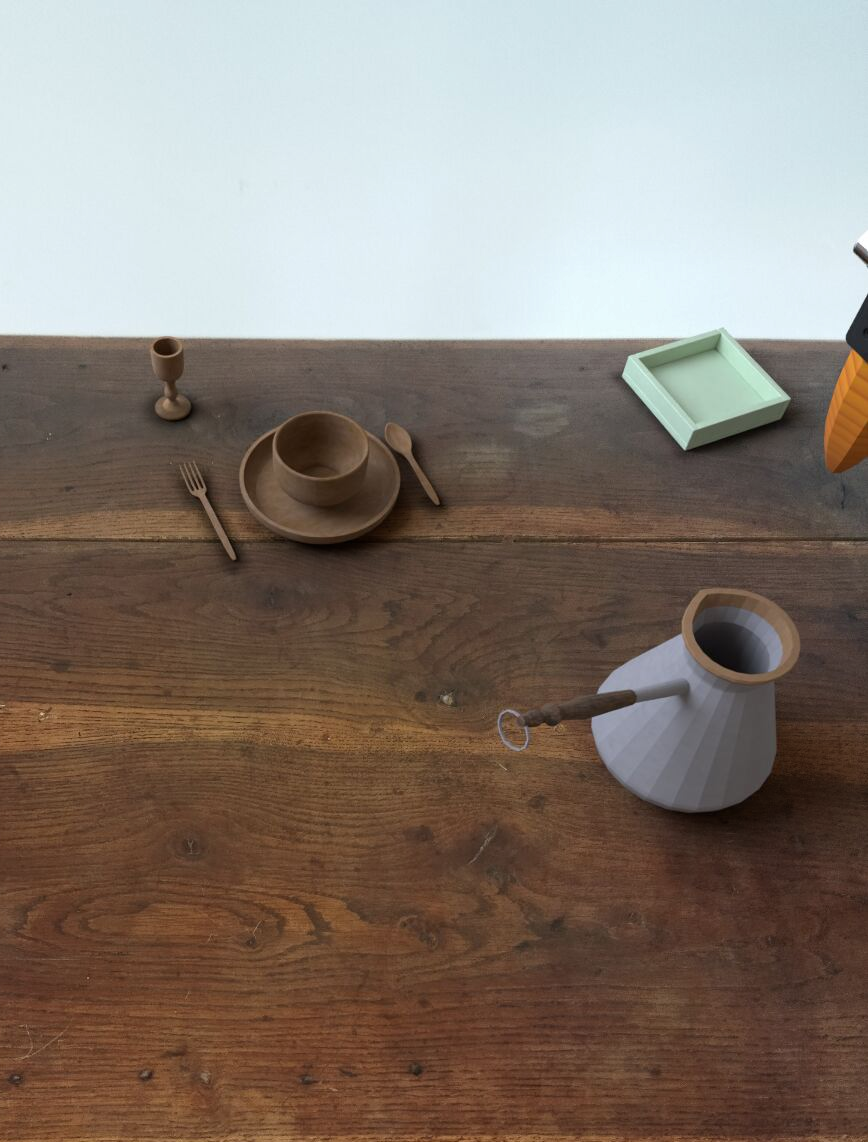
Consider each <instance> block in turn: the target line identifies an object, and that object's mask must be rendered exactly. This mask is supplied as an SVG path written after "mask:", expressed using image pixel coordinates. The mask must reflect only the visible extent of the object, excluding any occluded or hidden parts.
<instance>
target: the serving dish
mask: <svg viewBox="0 0 868 1142" xmlns="http://www.w3.org/2000/svg"><path fill="white" fill-rule="evenodd" d="M621 378H622V379H623V380H624V381H625V382H626V383H627V385H628V386H629V388H631V390H632V391H634V393H635V394H636V395H637V396H638V398H639V399H640V400H641V401H642V403H644V404H645V405H646V407H647V408H648V410H650V412H651V413H652V414H653V415H654V417H656V419H657V420H658V421H659V423H660V424H661V425H662V426H663V427H664V428H665V429H666V430H667V432H668V433H669V434H670V435H671V437H672V438H673V439H674V440H675V442H677V443H678V445H679V446H680V447H681V448H682V449H683V450H684V451H685V452H686V451H689V450H692V449H695V448H698V447H701V446H704V445H707V444H710V443H713V442H716V441H719V440H722V439H725V438H728V437H731V436H734V435H737V434H741V433H743V432H746V431H748V430H749V431H750V430H752V429H755V428H759V427H761V426H764V425H767V424H770V423H774V422H776V421H779V420H781V419H782V417H783V416H784V413H785V412H786V410H787V408H788V406H789V404H790V402H791V400H792V398H791V397H790V396H789V394H787V392H786V391H784V389H782V387H781V386H780V385H779V384H778V383H777V382H776V381H775V380H774V379H773V377H771V376H770V375H769V374H768V373H767V371H765V369H764V368H762V366H761V365H760V363H758V362H757V361H756V360H755V359H754V358H753V357H752V356H751V355H750V354H749V352H747V351H746V350H745V348H744V347H742V345H741V344H740V343H739V342H738V341H737V340H736V339H735V338H734V336H732V335H731V333H730V332H728V330H727V329H725V327H720V328H716V329H712V330H710V331H707V332H704V333H703V332H702V333H700V334H696V335H693V336H690V337H687V338H683V339H680V340H675V341H673V342H670V343H667V344H664V345H660V346H656V347H653V348H651V349H647V350H644V351H640V352H638V353H635V354H631V355H629V356H628V357H627V360H626V364H625V366H624V369H623V372H622V375H621Z"/></svg>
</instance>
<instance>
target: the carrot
mask: <svg viewBox="0 0 868 1142" xmlns="http://www.w3.org/2000/svg"><path fill="white" fill-rule="evenodd" d="M828 407H829V408H828V410H827V415H826V419H825V423H824V438H823V439H824V440H823V445H824V457H825V466H826V469H827V470H828V472H829V473H831V474H842V473H844V472H845V471H847V470H849V469H851V468H853V467H855V466H857V465H858V464H860V463H861V462H863V461H864V460H865V459H867V458H868V363H867V362H866V361H865V360H864V359H862V358H861V357H860V356H859V355H858V354H857V353H856V352H855V351H854V350H853V349H852V348H851V350H850V352H849V355H848V357H847V359H846V361H845V363H844V366H843V367H842V370H841V372H840V374H839V377H838V378H837V381H836V384H835V387H834V391H833V394H832V396H831V400H830V403H829V406H828Z"/></svg>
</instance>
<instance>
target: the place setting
mask: <svg viewBox="0 0 868 1142" xmlns="http://www.w3.org/2000/svg"><path fill="white" fill-rule="evenodd" d="M149 349H150V350H149V351H150V359H151V364H152V369H153V372H154V374H155V376H156V377H157V379H159V381H161V382H164V384H165V388H164V392H163V393H164V396H162V397H160V398H159V399H158V400H157V401H156V402H155V405H154V410H155V412H156V414H157V416H159V417H160V418H161V419H163V420H166V421H180V420H183V419H184V418H186V417H187V416H188V415H189V414H190V412H191V410H192V405H191V402H190V400H189V399H188V398H187V397H185V396H183V395H181V394H179V389H178V387H177V386H176V381H178V380H179V379H180V378H181V377H182V376H183V374H184V370H185V357H184V347H183V343H182V341H181V340H180V339H179V338H177V337H174V336H172V335H164V336H159V337H157V338H155V339H153V340H152V342H151V343H150V347H149ZM384 439H385V441H386V443H387V445H388V446H389V447H390V448H391V449H392V450H393V451H394V452H396V453H397V454H399V455H401V456H403V457H404V458H406V460H407V461H408V463H409V464H410V466H411V468H412V469H413V471H414V473H415V475H416V477H417V478H418V481H419V482H420V484H421V486H422V487H423V490H424V491H425V493H426V494H427V496H428V497H429V499H430V500H431V501H432V502H433V503H434V504H435V506H439V505H440V500H439V498H438V497H439V496H438V495H437V492H436V491H435V489H434V488H433V485H432V484H431V483H430V481H429V480H428V478H427V476H426V475H425V473H424V472H423V470H422V469H421V466H420V465H419V464H418V462H417V460H416V459H415V458H414V456H413V452H412V448H413V442H412V438H411V436H410V434H409V433H408V431H407V430H406V429H404V427H402V426H400V425H398V424H397V423H394V422H388V423H386V425H385V427H384ZM387 445H386V444H384V442H382V440H380V439H379V438H378V437H376V435H374V434H372V433H371V432H368V431H367V430H365V429H364V428H363V427H361V425H360V424H359V423H357V422H356V421H354V420H353V419H352V418H350V417H349V416H345V415H343V414H340V413H337V412H333V411H327V410H324V411H323V410H315V411H314V410H313V411H307V412H303V413H299V414H297V415H294V416H292V417H290V418H288V419H287V420H286V421H285V422H283V423H282V424H281V425H279V426H277V427H274V428H273V429H270V430H269V431H267V432H266V433H264V434H263V435H261V436H260V437H259V438H257V439H256V440H255V441H254V442H253V443H252V444H251V445H250V446H249V448H248V449H247V451H246V452H245V454H244V455H243V458H242V459H241V463H240V467H239V474H238V475H239V476H238V479H239V489H240V493H241V497H242V499H243V501H244V503H245V506H246V507H247V509H248V510H249V512H250V513H251V514H252V516H253V517H254V518H255V519H256V520H257V521H258V522H259V523H260V524H261V525H262V526H264V527H265V528H266V529H268V530H269V531H271V532H273V533H275V534H276V535H278V536H280V537H283V538H285V539H288V540H290V541H294V542H298V543H303V544H310V545H333V544H339V543H344V542H347V541H352V540H354V539H358V538H360V537H362V536H364V535H366V534H367V533H369V532H371V531H372V530H374V529H375V528H377V527H378V526H379V525H380V524H381V523H382V522H383V521H384V520H385V519H386V518H387V517H388V515H390V513H391V512H392V510H393V508H394V506H395V505H396V502H397V499H398V496H399V491H400V486H401V473H400V468H399V465H398V462H397V460H396V458H395V457H394V454H393V453H392V452H391V450H390V449H389V448H388V447H387ZM192 462H193V465H194V468H195V470H196V472H195V471H194V469H193V466H192V464H191V462H190V461H188V466H189V469H190V471H191V473H190V472H189V469H188V467H187V465H186V463H185V462H184V463H183V466H184V469H185V471H186V474H187V476H188V478H187V476H186V474H185V471H184V470H183V468H182V467H183V466H182V465H181V464H178V465H179V469H180V473H181V475H182V477H183V480H184V482H185V485H186V486H187V489H188V491H189V493H190V494H191V495H192V496H194V497H196V498H199V500H200V501H201V503H202V506H203V507H204V509H205V511H206V513H207V515H208V518H209V520H210V521H211V523H212V526H213V528H214V530H215V532H216V534H217V536H218V538H219V540H220V542H221V543H222V545H223V547H224V549H225V551H226V552H227V555H228V556H229V557H230V559H231V560H232V561H235V560H237V556H236V553H235V551H234V548H233V547H232V545H231V543H230V540H229V538H228V536H227V534H226V532H225V531H224V529H223V526H222V524H221V523H220V521H219V518H218V516H217V515H216V513H215V511H214V509H213V508H212V505H211V503H210V502H209V500H208V497H207V495H206V494H207V492H208V490H207V487H206V486H207V485H206V484H205V481H204V479H203V476H202V475H201V472H200V470H199V468H198V466H197V463H196V462H195V460H193V461H192ZM196 473H197V475H198V477H199V479H198V477H197V475H196ZM191 474H192V476H193V478H194V480H195V482H194V480H193V478H192V476H191ZM188 479H189V481H190V483H189V481H188ZM199 480H200V482H199ZM195 483H196V485H197V487H198V489H197V487H196V485H195ZM200 483H201V484H202V486H203V488H202V486H201V484H200ZM190 484H191V486H192V488H193V490H192V488H191V486H190Z"/></svg>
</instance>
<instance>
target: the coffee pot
mask: <svg viewBox="0 0 868 1142" xmlns="http://www.w3.org/2000/svg"><path fill="white" fill-rule="evenodd" d="M796 626H797V625H795V623H794V621H793V620H792V619H791V617H790V616H789V615H788V613H787V612H786V611H784V609H783V608H781V607H780V606H779V605H777V603H776V602H773V601H772V600H770V599H768V598H766V597H765V596H763V595H761V594H757V593H755V592H752V591H749V590H744V589H737V588H724V587H723V588H720V587H716V588H715V587H714V588H702V589H700V590H699V591H698V592H697V593H696V595H695V596H694V597H693V598H692V600H691V601H690V602H689V604H688V605H687V607H686V609H685V611H684V614H683V616H682V620H681V633H679V634H677V635H675V636H674V637H672V638H670V639H669V640H666V641H664V642H662V643H661V644H658V645H657V646H655V647H653V648H651V649H649V650H647V651H646V652H644V653H642V654H640V655H637V656H636V657H634V658H631V659H630V660H628V661H627V662H625V663H624V664H623V665H620V666H619V667H617V668H616V669H615V670H613V671H612V672H611V673H610V674H609V675H608V677H606V679H605V680H604V681H603V683H602V684H601V685H600V686H599V687H598V690H597V693H592V694H585V695H580V696H578V695H577V696H576V697H574V698H572V699H569V700H567V701H565V702H562V703H560V704H557V703H555V702H547V703H545V705H544V704H543V707H542V709H540V710H539V709H530V710H528V711H526V712H524V713H522V714H520V713H519V712H518V711H516V710H513V709H511V708H509V709H506V710H504V711H502V712H500V713H499V716H498V719H497V728H498V733H499V735H500V737H501V739H502V742H503V743H504V745H506V746H507V747H508V748H509V749H511V750H512V751H513V750H514V751H517V752H521V751H523V750H525V749H528V747H529V745H530V742H531V740H532V738H531V732H530V728H538V727H540V726H541V725H542V724H545V725H547V726H548V727H552V728H553V727H557V726H558V725H560V724H561V722H562V721H584V720H589V719H591V725H590V728H591V732H592V735H593V739H594V743H595V747H596V750H597V752H598V755H599V756H600V758H601V760H602V762H603V763H604V766H605V767H606V768H607V770H608V772H609V773H610V774H611V776H613V778H615V779H616V781H618V783H620V784H621V786H623V788H624V789H626V790H628V791H629V792H630V793H632V794H633V795H635V796H637V797H638V798H639V799H641V800H643V802H646V803H649V804H652V805H654V806H656V807H659V808H662V809H665V810H669V811H676V812H682V813H687V814H692V813H708V812H715V811H720V810H723V809H727V808H729V807H732V806H735V805H738V804H740V803H742V802H743V801H744V800H746V799H747V798H748V797H750V796H751V795H753V794H754V793H756V792H757V791H759V790H760V788H761V787H762V785H763V784H764V783H765V781H766V780H767V779H768V777H769V776H770V774H771V773H772V770H773V766H774V762H775V758H776V755H777V751H778V749H777V722H776V693H775V692H776V691H775V682H776V681H779V680H781V679H782V678H784V677H785V676H786V675H788V674H789V673H791V671H792V670H793V669H794V667H795V666H796V665H797V663H798V660H799V657H800V654H801V653H800V652H801V639H800V638H801V637H800V634H799V631H798V629H797V627H796ZM507 713H510V714H513V715H514V716H516V717H517V718H516V724H517V726H518V727H519V728H524V730H525V734H526V741H525V744H524V746H523V747H521V748H520V747H516V746H514V745H513V744H512V743H511V742H509V741H508V740H507V738H506V736H505V733H504V731H503V724H502V720H503V718H504V715H505V714H507Z"/></svg>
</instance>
